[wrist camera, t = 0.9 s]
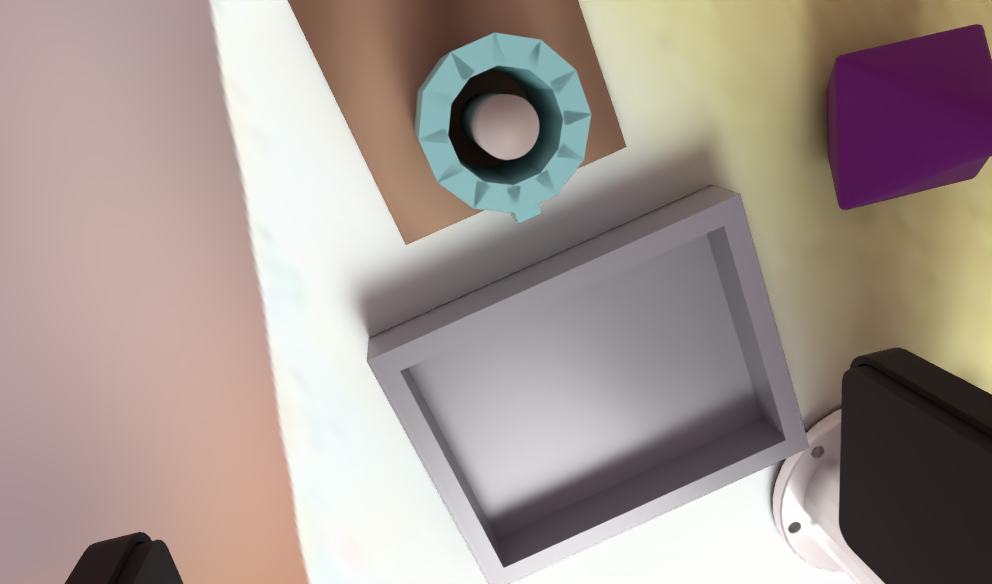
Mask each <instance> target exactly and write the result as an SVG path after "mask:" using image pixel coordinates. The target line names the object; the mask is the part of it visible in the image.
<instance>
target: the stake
mask: <svg viewBox="0 0 992 584" xmlns="http://www.w3.org/2000/svg"><path fill="white" fill-rule="evenodd" d="M288 2H289V4H290V6H291V8H292V10H293V12H294V14H295V16H296V18H297V20H298V22H299V25H300V27H301V29H302V31H303V33H304V35H305V37H306V39H307V41H308V43H309V45H310V47H311V49H312V51H313V54H314V56H315V58H316V60H317V62H318V64H319V66H320V68H321V70H322V72H323V74H324V76H325V78H326V80H327V83H328V85H329V87H330V89H331V91H332V93H333V95H334V97H335V99H336V101H337V103H338V105H339V107H340V109H341V111H342V114H343V116H344V118H345V120H346V122H347V124H348V126H349V128H350V130H351V132H352V134H353V136H354V138H355V140H356V143H357V145H358V147H359V149H360V151H361V153H362V155H363V157H364V159H365V161H366V163H367V165H368V167H369V169H370V171H371V174H372V176H373V178H374V180H375V182H376V184H377V186H378V188H379V190H380V192H381V194H382V196H383V198H384V200H385V203H386V205H387V207H388V209H389V211H390V213H391V215H392V217H393V219H394V221H395V223H396V225H397V227H398V229H399V232H400V234H401V236H402V238H403V240H404V242H405V244H406V245H407V244H410V243H412V242H414V241H416V240H419V239H421V238H423V237H425V236H428V235H430V234H432V233H434V232H437V231H439V230H441V229H443V228H445V227H448V226H450V225H452V224H454V223H457V222H459V221H461V220H463V219H466V218H468V217H470V216H472V215H475V214H477V213H479V212H481V211H484V210H481V209H473V208H472V207H471V206H469V205H468V204H467V203H465V202H464V201H462V200H461V199H460V198H458V197H457V196H456V195H454V194H453V193H451V192H450V191H449V190H447V189H446V188H445V187H443V186H442V185H440V184H439V183H438V182H437V180H436V178H435V176H434V174H433V171H432V169H431V167H430V164H429V162H428V160H427V157H426V155H425V153H424V151H423V149H422V146H421V144H420V142H419V140H418V138H417V136H416V133H415V131H414V125H415V114H416V103H417V91H418V89H419V88H420V86H421V85H422V83H423V82H424V81H425V79H426V78H427V76H428V75H429V73H430V72H431V71H432V69H433V68H434V66H435V65H436V63H437V62H438V61H439V59H440V58H441V57H443V56H444V55H446V54H448V53H449V52H452V51H454V50H456V49H459V48H461V47H463V46H465V45H468V44H470V43H472V42H474V41H477V40H479V39H481V38H483V37H486V36H488V35H490V34H492V33H501V34H507V35H514V36H520V37H527V38H533V39H541V40H542V41H543V42H544V43H545V44H546V45H548V46H549V47H550V48H551V49H552V50H553V51H555V52H556V53H557V54H558V55H559V56H560V57H562V58H563V59H564V60H565V61H566V62H567V63H569V64H570V65H571V66H572V67H573V68H574V69H575V70H576V71H577V74H578V77H579V80H580V83H581V86H582V88H583V91H584V94H585V97H586V100H587V103H588V106H589V109H590V112H591V120H590V126H589V132H588V138H587V144H586V150H585V156H584V160H583V161H582V163H581V164H580V165H579V167H578V168H580V167H582V166H585V165H587V164H589V163H591V162H594V161H596V160H598V159H600V158H603V157H605V156H607V155H609V154H612V153H614V152H616V151H618V150H621V149H623V148H625V147H626V144H625V141H624V138H623V135H622V132H621V129H620V126H619V123H618V120H617V117H616V114H615V111H614V108H613V105H612V102H611V99H610V96H609V93H608V90H607V87H606V84H605V81H604V78H603V75H602V72H601V69H600V66H599V63H598V60H597V57H596V54H595V51H594V48H593V45H592V42H591V39H590V36H589V33H588V30H587V26H586V23H585V20H584V17H583V14H582V11H581V8H580V5H579V2H578V0H288ZM538 134H539V119H538V116H537V113H536V111H535V110H534V108H533V107H532V105H531V104H530V103H529V102H528V100H527V97H526V95H525V92H524V89H523V88H522V87H521V86H520V85H518V84H517V83H516V82H515V81H513V80H512V79H511V78H510V77H509V76H507V75H506V74H505V73H504V72H497V71H490V70H486V71H484V72H482V73H479V74H477V75H475V76H473V77H470V78H469V80H468V81H467V82H466V84H465V85H464V87H463V88H462V89H461V91H460V92H459V94H458V95H457V97H456V98H455V99H454V101H453V102H452V104H451V112H450V122H449V132H448V136H449V139H450V141H451V143H452V146H453V148H454V150H455V153H456V155H457V157H459V158H460V159H461V160H463V161H464V162H465V163H467V164H469V165H478V166H487V167H493V166H495V165H498V164H500V163H502V162H504V161H507V160H511V159H516V158H519V157H521V156H523V155H525V154H526V153H527V152H528V151H530V149H531V148H532V147H533V146H534V144H535V142H536V140H537V137H538ZM578 168H577V169H578Z"/></svg>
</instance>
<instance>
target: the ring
mask: <svg viewBox="0 0 992 584" xmlns="http://www.w3.org/2000/svg"><path fill="white" fill-rule="evenodd" d="M486 70H490V71H497V72H504V73H505V74H506V75H507V76H509V77H510V78H511V79H512V80H513V81H515V82H516V83H517V84H518V85H520V86H521V87H522V88H523V89H524V92H525V95H526V97H527V100H528V102H529V103H530V104H531V105H532V107H533V108H534V110H535V111H536V113H537V116H538V119H539V134H538V137H537V140H536V142H535V144H534V146H533V147H532V148H531V149H530V151H528V152H527V153H526V154H525V155H523V156H521V157H519V158H516V159H511V160H507V161H504V162H502V163H500V164H498V165H495V166H493V167H487V166H478V165H469V164H467V163H465V162H464V161H463V160H461V159H460V158H459V157H457V155H456V153H455V150H454V148H453V146H452V143H451V141H450V139H449V136H448V132H449V122H450V112H451V104H452V102H453V101H454V99H455V98H456V97H457V95H458V94H459V92H460V91H461V89H462V88H463V87H464V85H465V84H466V82H467V81H468V80H469V78H470V77H473V76H475V75H477V74H479V73H482V72H484V71H486ZM590 120H591V112H590V109H589V106H588V103H587V100H586V97H585V94H584V91H583V88H582V86H581V83H580V80H579V77H578V74H577V71H576V70H575V69H574V68H573V67H572V66H571V65H570V64H569V63H567V62H566V61H565V60H564V59H563V58H562V57H560V56H559V55H558V54H557V53H556V52H555V51H553V50H552V49H551V48H550V47H549V46H548V45H546V44H545V43H544V42H543V41H542V40H541V39H533V38H527V37H520V36H514V35H507V34H501V33H492V34H490V35H488V36H486V37H483V38H481V39H479V40H477V41H474V42H472V43H470V44H468V45H465V46H463V47H461V48H459V49H456V50H454V51H452V52H449V53H448V54H446V55H444V56H443V57H441V58H440V59H439V61H438V62H437V63H436V65H435V66H434V68H433V69H432V71H431V72H430V73H429V75H428V76H427V78H426V79H425V81H424V82H423V83H422V85H421V86H420V88H419V89H418V91H417V103H416V114H415V125H414V131H415V133H416V136H417V138H418V140H419V142H420V144H421V146H422V149H423V151H424V153H425V155H426V157H427V160H428V162H429V164H430V167H431V169H432V171H433V174H434V176H435V178H436V180H437V182H438V183H439V184H440V185H442V186H443V187H445V188H446V189H447V190H449V191H450V192H451V193H453V194H454V195H456V196H457V197H458V198H460V199H461V200H462V201H464V202H465V203H467V204H468V205H469V206H471V207H472V208H473V209H481V210H491V211H501V212H510V213H511V215H512V216H513V218H514V219H515V220H516V221H517V222H518V223H521V222H523V221H525V220H528V219H530V218H532V217H534V216H537V215H539V214H541V213H542V212H541V209H540V207H539V204H538V203H541V202H543V201H545V200H547V199H550V198H552V197H554V196H557V194H558V193H559V192H560V190H561V189H562V188H563V186H564V185H565V184H566V182H567V181H568V180H569V179H570V177H571V176H572V175H573V173H574V172H575V171H576V169H577V168H578V167H579V165H580V164H581V163H582V161H583V160H584V156H585V150H586V144H587V138H588V132H589V126H590Z"/></svg>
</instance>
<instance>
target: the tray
mask: <svg viewBox="0 0 992 584" xmlns="http://www.w3.org/2000/svg"><path fill="white" fill-rule="evenodd" d="M367 362H368V364H369V366H370V368H371V370H372V372H373V373H374V375H375V377H376V379H377V381H378V383H379V384H380V386H381V388H382V390H383V392H384V394H385V396H386V397H387V399H388V401H389V403H390V405H391V407H392V408H393V410H394V412H395V414H396V416H397V418H398V419H399V421H400V423H401V425H402V427H403V429H404V430H405V432H406V434H407V436H408V438H409V440H410V441H411V443H412V445H413V447H414V449H415V451H416V452H417V454H418V456H419V458H420V460H421V462H422V463H423V465H424V467H425V469H426V471H427V473H428V474H429V476H430V478H431V480H432V482H433V484H434V485H435V487H436V489H437V491H438V493H439V495H440V497H441V498H442V500H443V502H444V504H445V506H446V508H447V509H448V511H449V513H450V515H451V517H452V519H453V520H454V522H455V524H456V526H457V528H458V530H459V531H460V533H461V535H462V537H463V539H464V541H465V542H466V544H467V546H468V548H469V550H470V552H471V553H472V555H473V557H474V559H475V561H476V563H477V564H478V566H479V568H480V570H481V572H482V574H483V575H484V577H485V579H486V581H487V583H488V584H511V583H513V582H515V581H517V580H519V579H522V578H524V577H526V576H528V575H531V574H533V573H535V572H537V571H539V570H542V569H544V568H546V567H548V566H550V565H553V564H555V563H557V562H559V561H561V560H564V559H566V558H568V557H570V556H572V555H575V554H577V553H579V552H581V551H583V550H586V549H588V548H590V547H592V546H594V545H597V544H599V543H601V542H603V541H605V540H608V539H610V538H612V537H614V536H616V535H619V534H621V533H623V532H625V531H627V530H630V529H632V528H634V527H636V526H638V525H641V524H643V523H645V522H647V521H649V520H652V519H654V518H656V517H658V516H660V515H663V514H665V513H667V512H669V511H671V510H674V509H676V508H678V507H680V506H683V505H685V504H687V503H689V502H691V501H694V500H696V499H698V498H700V497H702V496H705V495H707V494H709V493H711V492H713V491H716V490H718V489H720V488H722V487H724V486H727V485H729V484H731V483H733V482H735V481H738V480H740V479H742V478H744V477H746V476H749V475H751V474H753V473H755V472H757V471H760V470H762V469H764V468H766V467H768V466H771V465H773V464H775V463H777V462H779V461H782V460H784V459H786V458H788V457H790V456H793V455H795V454H797V453H799V452H801V451H804V450H806V449H808V448H810V447H809V443H808V440H807V436H806V433H805V429H804V425H803V422H802V418H801V414H800V411H799V407H798V403H797V400H796V396H795V393H794V389H793V385H792V382H791V378H790V374H789V371H788V367H787V363H786V360H785V356H784V352H783V349H782V345H781V342H780V338H779V334H778V331H777V327H776V323H775V320H774V316H773V312H772V309H771V305H770V302H769V298H768V294H767V291H766V287H765V283H764V280H763V276H762V272H761V269H760V265H759V262H758V258H757V254H756V251H755V247H754V243H753V240H752V236H751V232H750V229H749V225H748V221H747V218H746V214H745V211H744V207H743V203H742V200H741V196H740V194H738V193H735V192H732V191H729V190H726V189H722V188H719V187H716V186H713V185H710V186H708V187H706V188H704V189H701V190H699V191H697V192H695V193H692V194H690V195H688V196H686V197H683V198H681V199H679V200H677V201H675V202H672V203H670V204H668V205H666V206H663V207H661V208H659V209H657V210H654V211H652V212H650V213H648V214H645V215H643V216H641V217H639V218H637V219H634V220H632V221H630V222H628V223H625V224H623V225H621V226H619V227H616V228H614V229H612V230H610V231H607V232H605V233H603V234H601V235H599V236H596V237H594V238H592V239H590V240H587V241H585V242H583V243H581V244H578V245H576V246H574V247H572V248H569V249H567V250H565V251H563V252H560V253H558V254H556V255H554V256H552V257H549V258H547V259H545V260H543V261H540V262H538V263H536V264H534V265H531V266H529V267H527V268H525V269H522V270H520V271H518V272H516V273H514V274H511V275H509V276H507V277H505V278H502V279H500V280H498V281H496V282H493V283H491V284H489V285H487V286H484V287H482V288H480V289H478V290H475V291H473V292H471V293H469V294H467V295H464V296H462V297H460V298H458V299H455V300H453V301H451V302H449V303H446V304H444V305H442V306H440V307H437V308H435V309H433V310H431V311H429V312H426V313H424V314H422V315H420V316H417V317H415V318H413V319H411V320H408V321H406V322H404V323H402V324H399V325H397V326H395V327H393V328H390V329H388V330H386V331H384V332H382V333H379V334H377V335H375V336H373V337H370V338H369V343H368V353H367Z"/></svg>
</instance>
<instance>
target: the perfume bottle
mask: <svg viewBox="0 0 992 584" xmlns="http://www.w3.org/2000/svg"><path fill="white" fill-rule="evenodd" d="M827 117H828V150H829V163H830V168H831V172H832V177H833V182H834V186H835V191H836V196H837V200H838V205H839V207H840V208H841V209H843V210H848V209H852V208H856V207H860V206H864V205H868V204H872V203H876V202H880V201H884V200H888V199H892V198H896V197H900V196H904V195H908V194H912V193H916V192H920V191H924V190H928V189H932V188H936V187H940V186H944V185H948V184H952V183H957V182H961V181H965V180H969V179H972V178H974V177H975V176H976V175H977V174H978V172H979V171H980V169H981V168H982V167H983V165H984V164H985V163H986V161H987V160H988V158H989V157H990V156H992V60H991V56H990V52H989V48H988V44H987V40H986V36H985V32H984V29H983V26H982V25H979V24H975V25H971V26H967V27H962V28H958V29H953V30H949V31H945V32H940V33H936V34H931V35H927V36H923V37H918V38H914V39H910V40H905V41H901V42H896V43H892V44H888V45H883V46H879V47H875V48H870V49H866V50H861V51H857V52H853V53H848V54H844V55H840V56H839V57H837V58H836V60H835V64H834V67H833V70H832V74H831V77H830V80H829V84H828V87H827Z"/></svg>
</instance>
